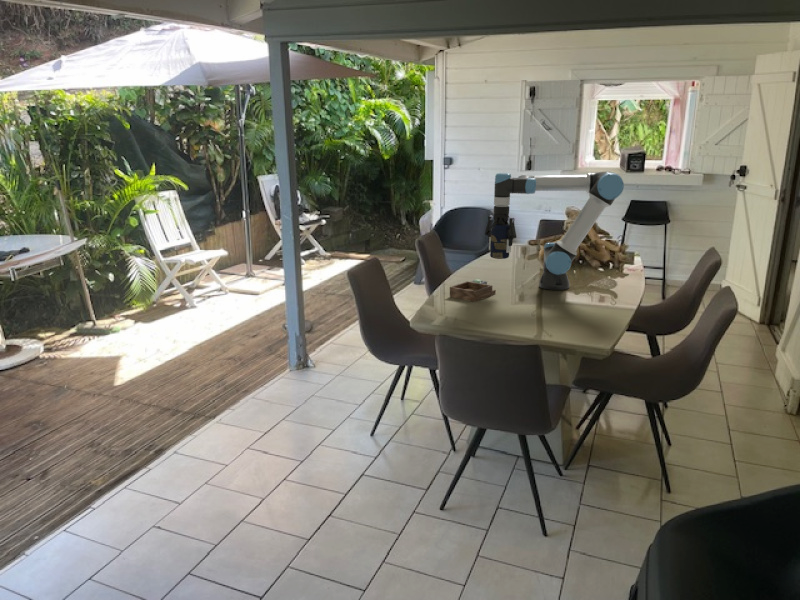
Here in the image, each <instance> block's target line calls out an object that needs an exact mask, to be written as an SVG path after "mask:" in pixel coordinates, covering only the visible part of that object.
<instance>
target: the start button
mask: <svg viewBox="0 0 800 600" xmlns="http://www.w3.org/2000/svg"><path fill="white" fill-rule="evenodd" d="M481 281H482V280H481V279H478V278H476V279H474V282H475V283H481Z"/></svg>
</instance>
